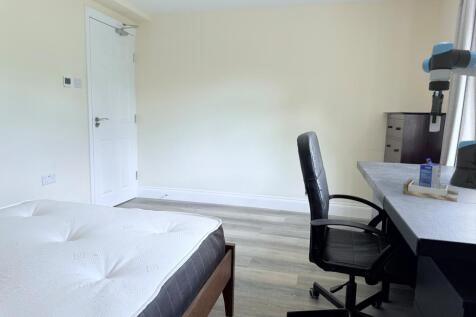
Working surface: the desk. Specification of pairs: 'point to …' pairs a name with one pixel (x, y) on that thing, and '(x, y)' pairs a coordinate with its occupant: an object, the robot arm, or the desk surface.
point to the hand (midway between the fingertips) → (434, 131)
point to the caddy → (428, 189)
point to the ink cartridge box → (430, 175)
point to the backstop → (405, 191)
